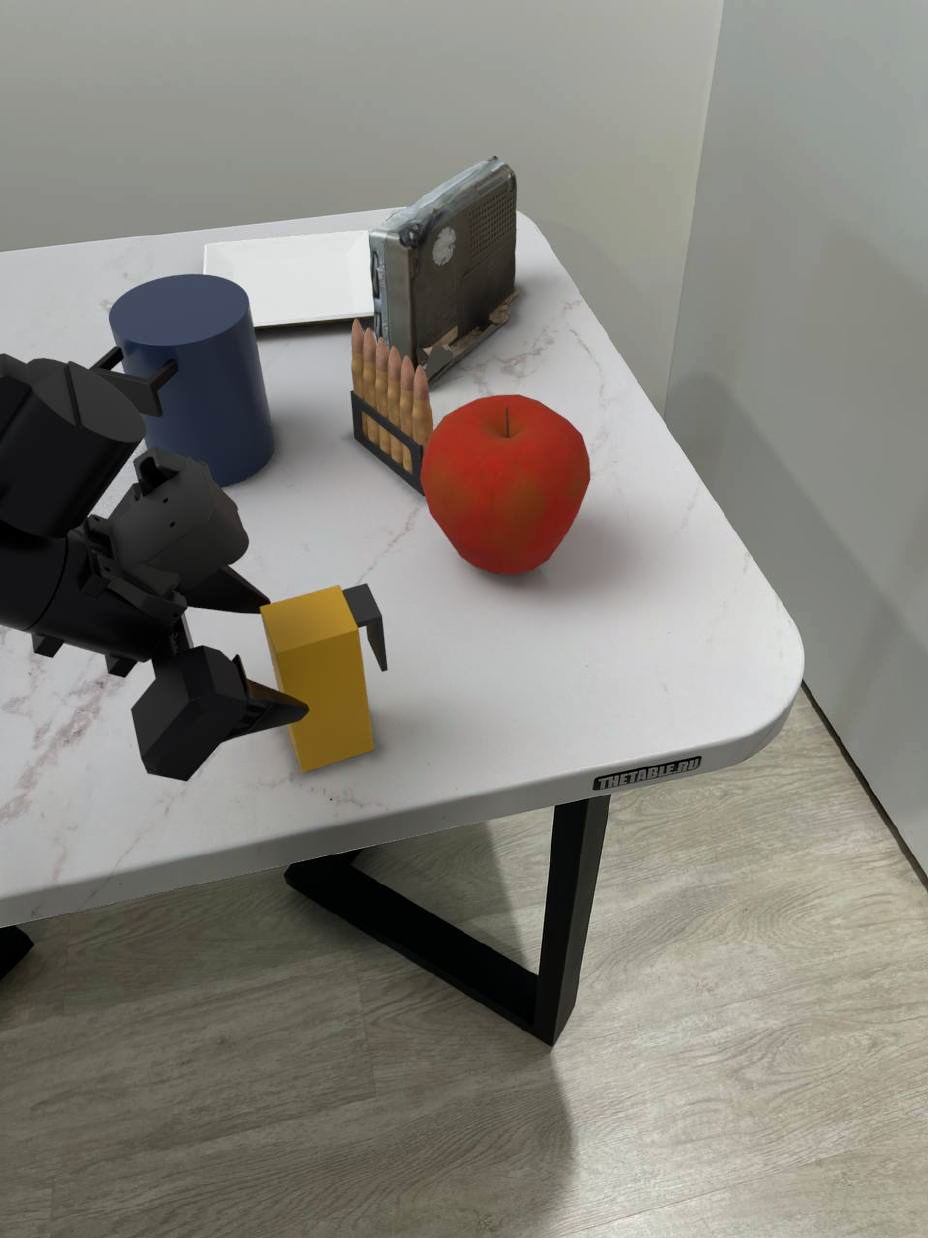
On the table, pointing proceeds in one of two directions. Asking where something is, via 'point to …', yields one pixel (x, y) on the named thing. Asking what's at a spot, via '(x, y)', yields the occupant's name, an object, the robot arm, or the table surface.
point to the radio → (447, 268)
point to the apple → (505, 481)
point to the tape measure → (326, 669)
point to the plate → (298, 276)
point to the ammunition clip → (390, 405)
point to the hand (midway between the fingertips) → (285, 657)
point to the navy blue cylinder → (193, 372)
